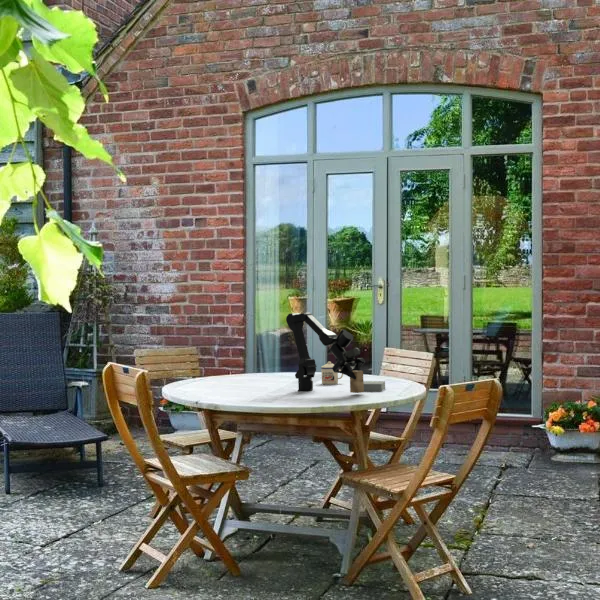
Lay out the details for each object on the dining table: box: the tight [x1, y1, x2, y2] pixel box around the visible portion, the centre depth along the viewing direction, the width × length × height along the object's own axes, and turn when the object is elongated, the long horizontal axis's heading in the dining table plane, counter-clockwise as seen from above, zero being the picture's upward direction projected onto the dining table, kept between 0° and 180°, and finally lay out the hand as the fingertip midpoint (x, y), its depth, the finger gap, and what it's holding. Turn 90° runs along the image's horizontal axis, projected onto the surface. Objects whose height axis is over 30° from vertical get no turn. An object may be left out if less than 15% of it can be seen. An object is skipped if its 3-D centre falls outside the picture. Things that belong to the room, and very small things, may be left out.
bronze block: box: [349, 370, 365, 394], centre depth 398 cm, size 4×4×10 cm
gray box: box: [363, 380, 386, 392], centre depth 416 cm, size 12×12×4 cm
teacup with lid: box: [320, 361, 344, 385], centre depth 449 cm, size 12×9×12 cm
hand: (358, 378), depth 397 cm, fingers closed on bronze block, 4 cm apart
